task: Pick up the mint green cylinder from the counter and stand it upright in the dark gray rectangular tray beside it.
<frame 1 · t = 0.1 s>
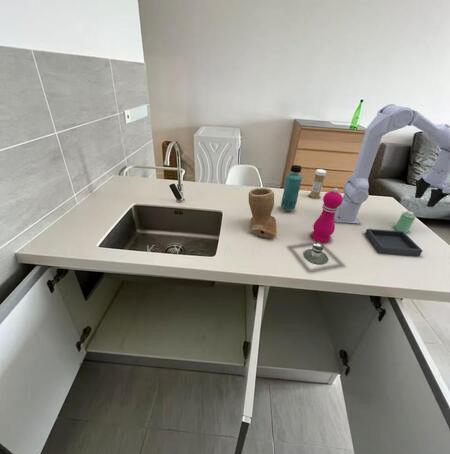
hand: (423, 202, 97), 10 cm above the worktop, tool pointing down, fingers open, 7 cm apart
pot lid: (314, 256, 80), on the worktop
beverage bottle: (287, 210, 107), on the worktop
dark gray rectangular tray: (390, 244, 88), on the worktop
pepper mill: (320, 238, 90), on the worktop
sprinkles bottle: (314, 196, 120), on the worktop
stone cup: (260, 228, 93), on the worktop
mint green cylinder: (401, 229, 97), on the worktop
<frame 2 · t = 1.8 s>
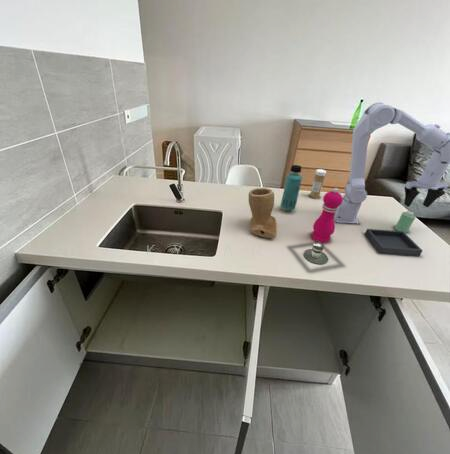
hand: (416, 205, 93), 10 cm above the worktop, tool pointing down, fingers open, 7 cm apart
nothing on the worktop moved.
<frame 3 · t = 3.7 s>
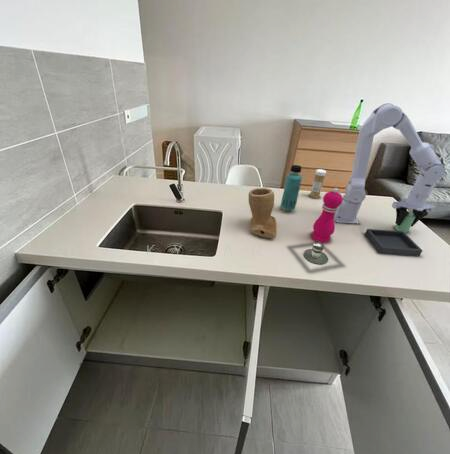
hand: (403, 224, 96), 2 cm above the worktop, tool pointing down, fingers closed on mint green cylinder, 4 cm apart
mint green cylinder: (401, 229, 97), on the worktop, touching gripper
everything else where it was.
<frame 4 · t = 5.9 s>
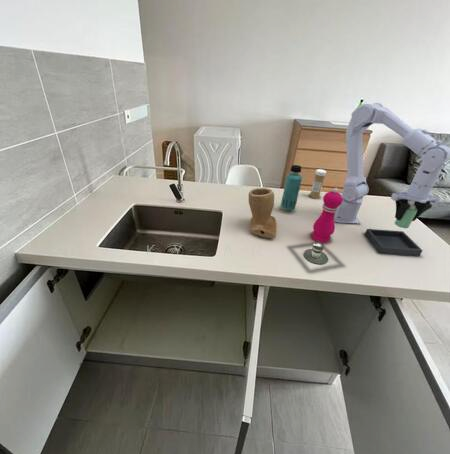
hand: (404, 219, 85), 9 cm above the worktop, tool pointing down, fingers closed on mint green cylinder, 4 cm apart
mint green cylinder: (401, 224, 87), point 7 cm above the worktop, touching gripper
everything else where it was.
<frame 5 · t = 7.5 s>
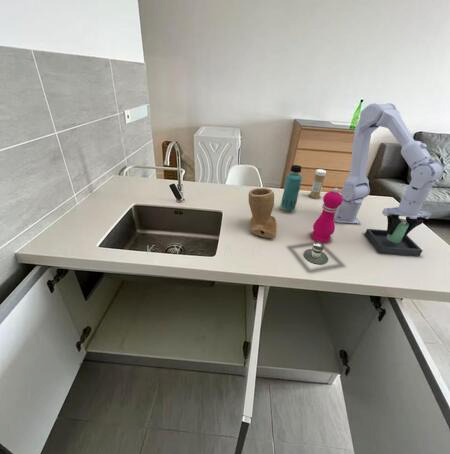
hand: (395, 233, 86), 5 cm above the worktop, tool pointing down, fingers closed on mint green cylinder, 4 cm apart
mint green cylinder: (393, 239, 87), point 2 cm above the worktop, touching gripper
everything else where it was.
when the fingers open (3 cm above the worktop, at t = 8.6 s): mint green cylinder stays where it is, resting on dark gray rectangular tray.
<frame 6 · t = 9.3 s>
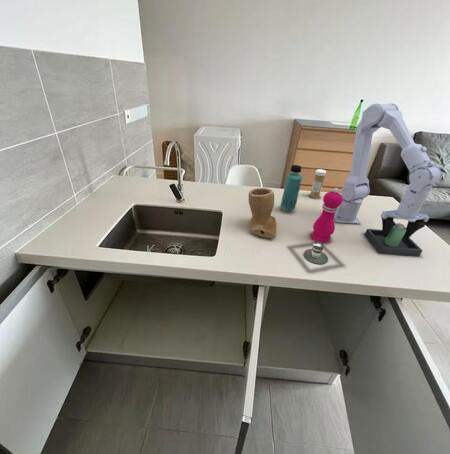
hand: (394, 236, 86), 4 cm above the worktop, tool pointing down, fingers open, 7 cm apart
mint green cylinder: (391, 243, 88), resting on dark gray rectangular tray
everything else where it was.
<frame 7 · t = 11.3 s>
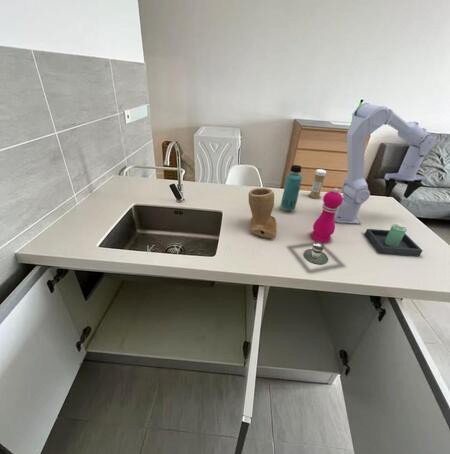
hand: (396, 196, 100), 10 cm above the worktop, tool pointing down, fingers open, 7 cm apart
nothing on the worktop moved.
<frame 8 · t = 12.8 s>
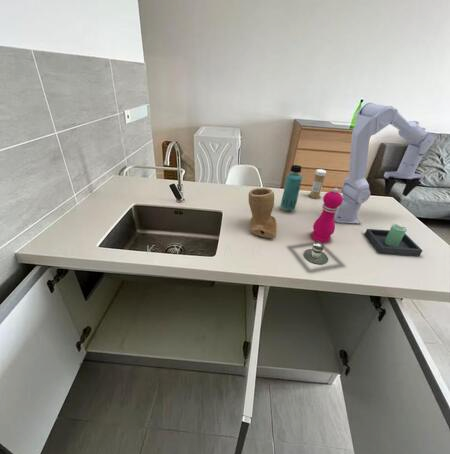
hand: (395, 194, 102), 10 cm above the worktop, tool pointing down, fingers open, 7 cm apart
nothing on the worktop moved.
at the end: mint green cylinder inside the target area in the dark gray rectangular tray (0.0 cm from its centre), point 0.5 cm above the dark gray rectangular tray's base; mint green cylinder tilted 0°; the gripper is holding nothing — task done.
